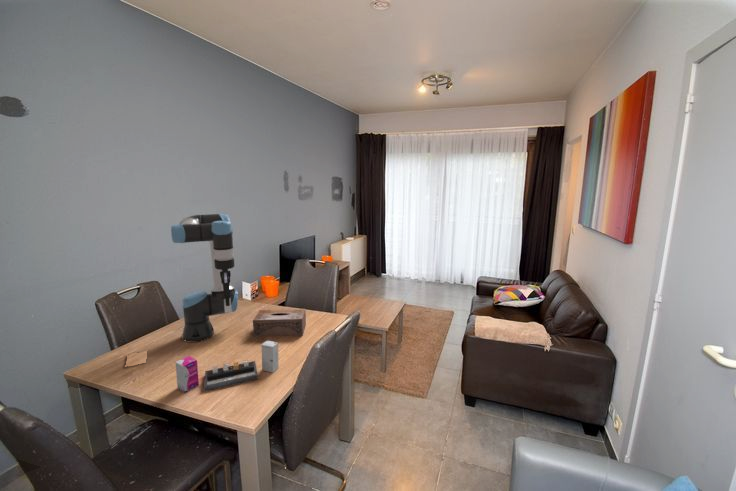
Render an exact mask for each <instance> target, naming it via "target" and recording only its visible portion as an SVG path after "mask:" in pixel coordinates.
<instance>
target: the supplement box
mask: <svg viewBox="0 0 736 491" xmlns="http://www.w3.org/2000/svg"><path fill="white" fill-rule="evenodd" d="M175 373H176V384H177V385H176V386H177V389H178V388H179V390H180V389H181V390H180V391H182V390H183V391H184V392H183V391H182V392H183V393H187V392H189V391H190V389H191V390H193V389H195V388H196V386H197V387H199V386H198V385H200V380H199V370H198V360H197V359H195V358H193V357H192V356H190V355H188V356H186V357H184V358H181V359H179V360H177V361H175ZM194 387H195V388H194ZM192 388H193V389H192ZM188 390H189V391H188ZM186 391H187V392H186Z"/></svg>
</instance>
